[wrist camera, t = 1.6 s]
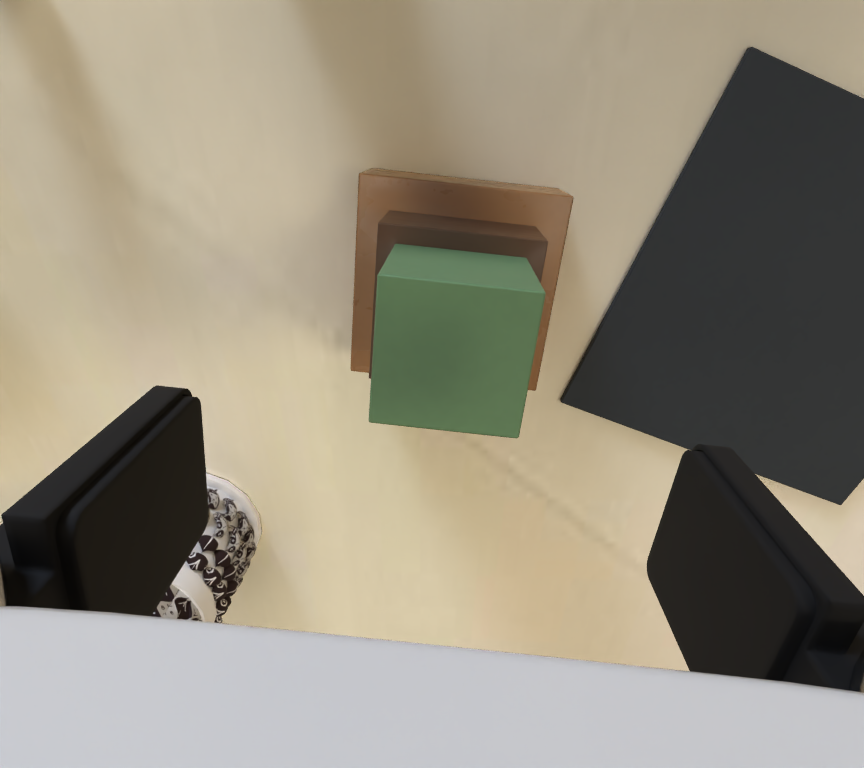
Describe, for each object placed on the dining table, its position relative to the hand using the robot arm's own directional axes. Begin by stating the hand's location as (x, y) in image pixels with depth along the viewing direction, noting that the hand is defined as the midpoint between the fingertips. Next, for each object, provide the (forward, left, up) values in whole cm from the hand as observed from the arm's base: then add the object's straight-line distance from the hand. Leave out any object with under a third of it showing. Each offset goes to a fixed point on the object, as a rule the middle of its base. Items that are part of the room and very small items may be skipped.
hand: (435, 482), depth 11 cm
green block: (-1, +1, -14) cm, 14 cm away
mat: (-20, -4, -22) cm, 30 cm away
